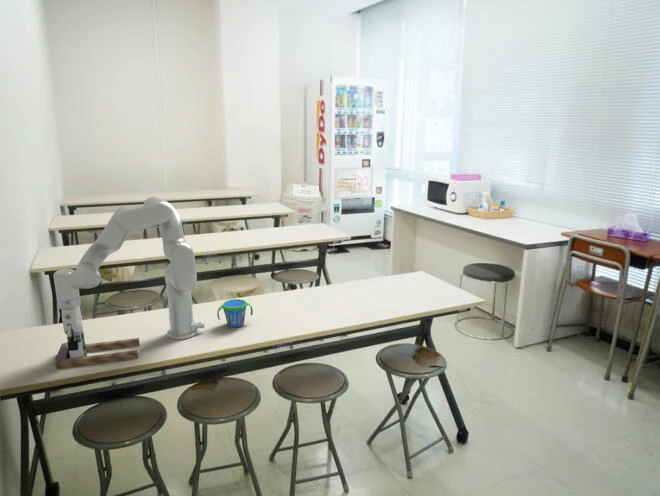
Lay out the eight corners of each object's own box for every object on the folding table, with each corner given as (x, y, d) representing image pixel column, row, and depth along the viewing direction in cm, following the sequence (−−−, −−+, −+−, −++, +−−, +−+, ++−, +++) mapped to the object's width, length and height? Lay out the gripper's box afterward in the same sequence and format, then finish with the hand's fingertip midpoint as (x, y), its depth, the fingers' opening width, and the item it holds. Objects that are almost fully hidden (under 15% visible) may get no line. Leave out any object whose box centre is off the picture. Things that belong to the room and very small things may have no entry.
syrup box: (70, 363, 184) (65, 327, 180) (69, 356, 189) (64, 321, 185) (87, 359, 187) (82, 324, 183) (86, 353, 192) (81, 318, 188)
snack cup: (218, 331, 213) (217, 309, 210) (217, 321, 223) (216, 300, 220) (254, 327, 216) (253, 306, 214) (252, 318, 226) (251, 297, 224)
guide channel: (139, 343, 200) (138, 334, 199) (137, 358, 188) (136, 348, 187) (63, 352, 192) (62, 343, 191) (56, 368, 180) (54, 358, 179)
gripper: (76, 309, 175) (82, 354, 180) (83, 293, 191) (89, 335, 196) (52, 312, 173) (59, 357, 178) (62, 295, 189) (68, 337, 193)
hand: (75, 345), depth 187 cm, fingers open, 6 cm apart
